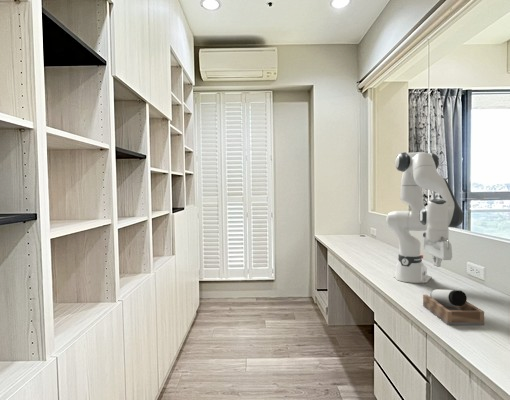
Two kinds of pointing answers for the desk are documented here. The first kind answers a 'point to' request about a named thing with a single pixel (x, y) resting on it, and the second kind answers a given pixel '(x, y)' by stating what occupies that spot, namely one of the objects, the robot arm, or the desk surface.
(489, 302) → the desk surface
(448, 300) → the travel mug
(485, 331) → the desk surface
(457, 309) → the u rest
